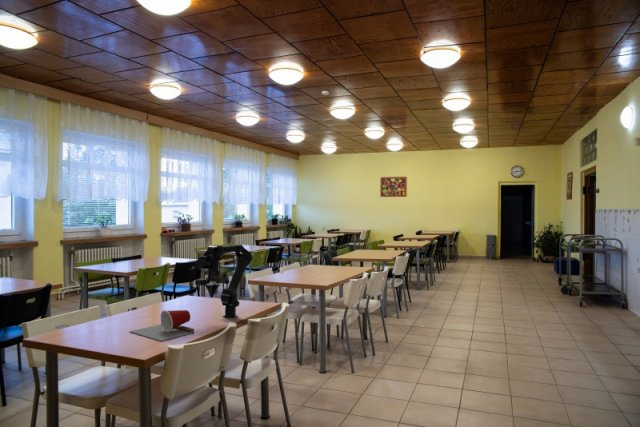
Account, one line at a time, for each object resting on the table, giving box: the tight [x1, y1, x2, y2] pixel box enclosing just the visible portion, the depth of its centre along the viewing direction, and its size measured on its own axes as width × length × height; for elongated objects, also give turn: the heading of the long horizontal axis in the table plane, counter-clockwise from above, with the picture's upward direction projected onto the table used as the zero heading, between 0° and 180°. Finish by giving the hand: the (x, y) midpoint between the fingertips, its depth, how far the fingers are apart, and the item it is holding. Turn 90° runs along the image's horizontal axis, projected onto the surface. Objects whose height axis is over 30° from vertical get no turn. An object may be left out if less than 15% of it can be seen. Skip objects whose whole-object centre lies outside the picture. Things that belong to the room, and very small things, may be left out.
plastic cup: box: [160, 309, 191, 332], centre depth 219 cm, size 11×11×12 cm
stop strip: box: [160, 322, 195, 334], centre depth 223 cm, size 2×24×2 cm, turn 54°
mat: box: [128, 324, 193, 343], centre depth 215 cm, size 17×26×1 cm, turn 54°
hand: (211, 297), depth 240 cm, fingers closed
